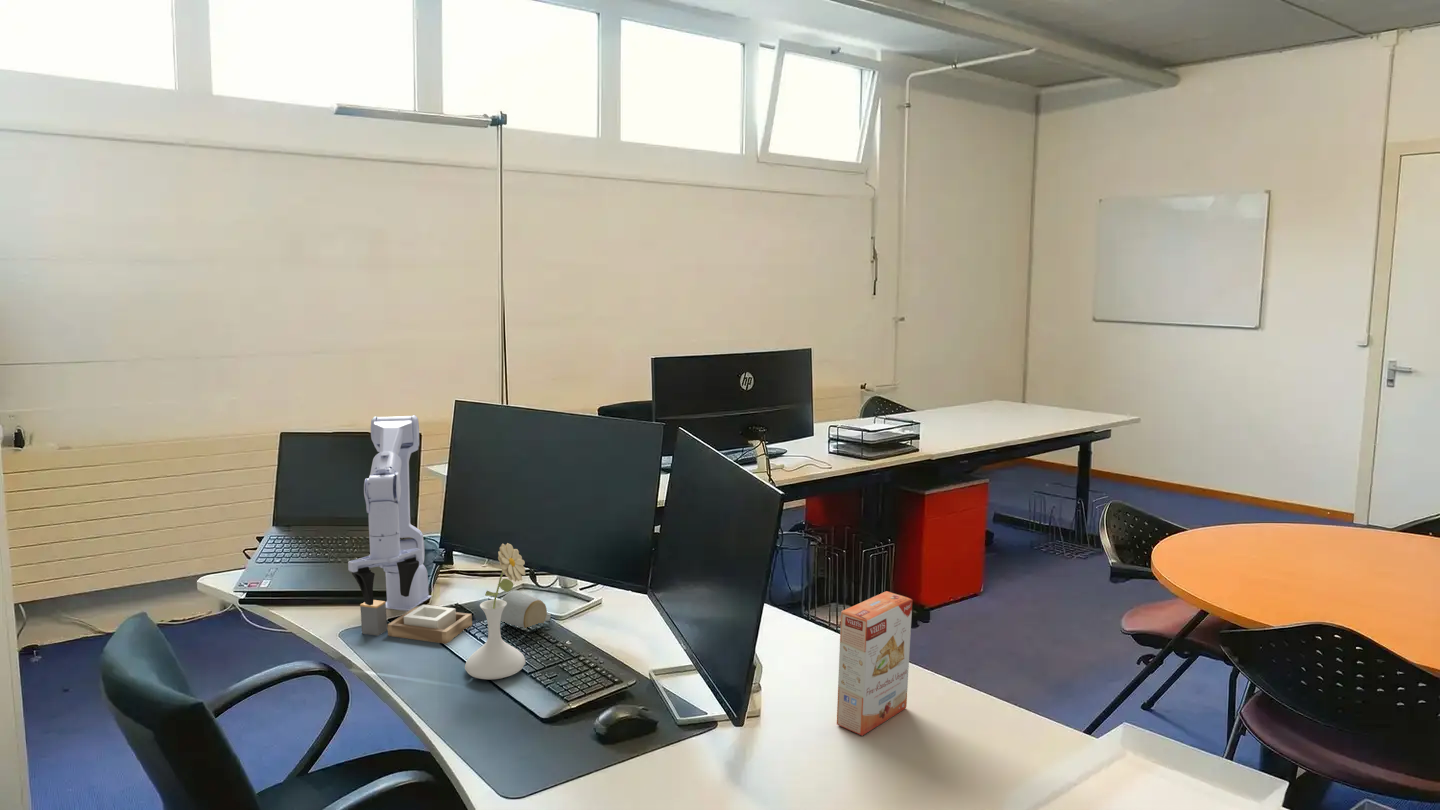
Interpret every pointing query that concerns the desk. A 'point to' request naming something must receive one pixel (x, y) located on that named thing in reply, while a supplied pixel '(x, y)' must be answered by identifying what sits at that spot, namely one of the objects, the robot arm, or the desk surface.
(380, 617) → the block
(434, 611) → the socket block
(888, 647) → the cracker box
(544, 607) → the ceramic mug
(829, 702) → the desk surface
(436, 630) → the walled box
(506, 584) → the flower in vase
